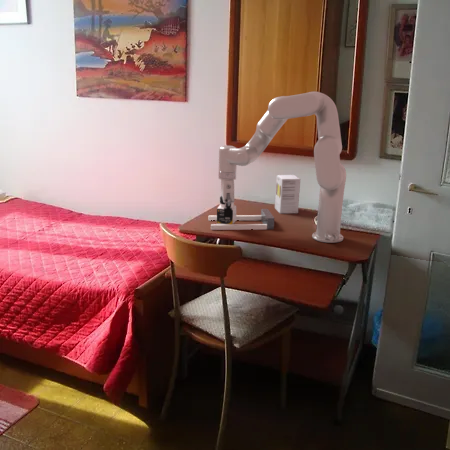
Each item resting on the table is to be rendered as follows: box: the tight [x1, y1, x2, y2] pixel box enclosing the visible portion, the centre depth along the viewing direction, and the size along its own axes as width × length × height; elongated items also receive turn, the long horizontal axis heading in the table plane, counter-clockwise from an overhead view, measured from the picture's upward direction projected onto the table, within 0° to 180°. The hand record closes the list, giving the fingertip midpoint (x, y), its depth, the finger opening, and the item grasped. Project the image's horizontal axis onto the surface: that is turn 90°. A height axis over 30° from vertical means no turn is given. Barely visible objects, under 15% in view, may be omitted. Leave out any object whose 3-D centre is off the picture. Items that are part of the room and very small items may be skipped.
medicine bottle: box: [216, 195, 237, 224], centre depth 232 cm, size 7×7×12 cm
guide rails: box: [207, 214, 268, 231], centre depth 235 cm, size 15×24×2 cm, turn 96°
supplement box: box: [274, 174, 301, 214], centre depth 257 cm, size 10×9×17 cm
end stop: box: [260, 208, 275, 230], centre depth 236 cm, size 15×3×5 cm, turn 6°
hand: (226, 213), depth 233 cm, fingers closed on medicine bottle, 9 cm apart
